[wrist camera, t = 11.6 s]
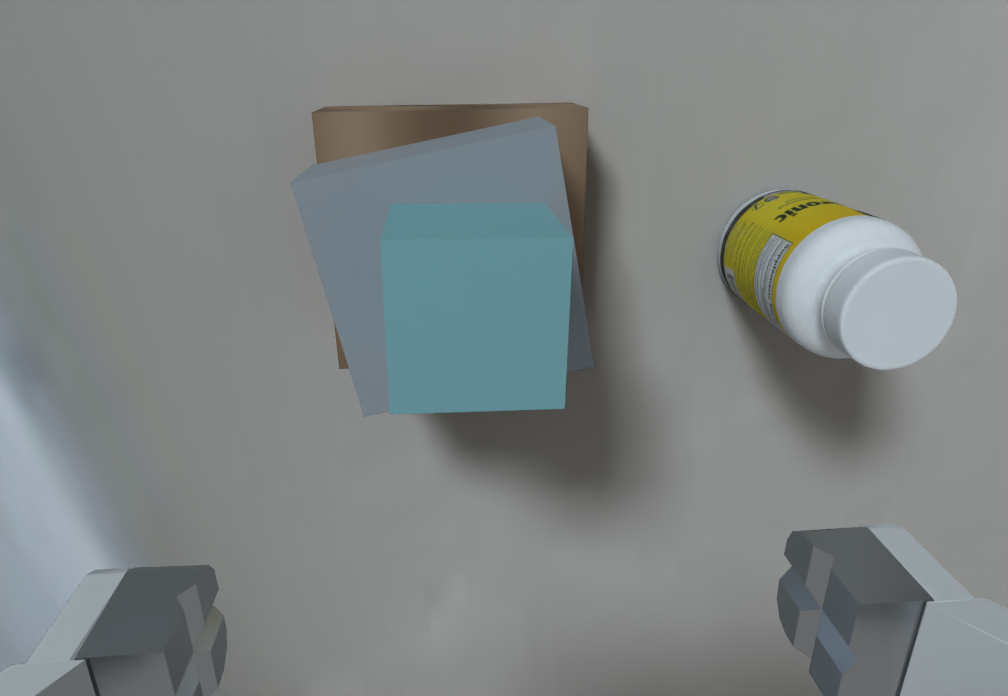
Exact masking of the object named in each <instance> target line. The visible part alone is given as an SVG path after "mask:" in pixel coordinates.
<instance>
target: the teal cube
mask: <svg viewBox="0 0 1008 696" xmlns="http://www.w3.org/2000/svg"><path fill="white" fill-rule="evenodd" d="M380 249H381V267H382V286H383V304H384V322H385V340H386V358H387V376H388V394H389V412H390V414H418V413H449V412H480V411H511V410H543V409H565V394H566V373H567V353H568V332H569V312H570V291H571V271H572V250H573V237H572V236H571V235H570V233H569V232H568V231H567V230H566V228H565V227H564V226H563V225H562V223H561V222H560V221H559V220H558V218H557V217H556V216H555V215H554V213H553V212H552V211H551V210H550V208H549V207H548V206H547V205H546V203H441V204H391V205H390V208H389V212H388V215H387V218H386V222H385V225H384V228H383V231H382V235H381V238H380Z"/></svg>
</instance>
